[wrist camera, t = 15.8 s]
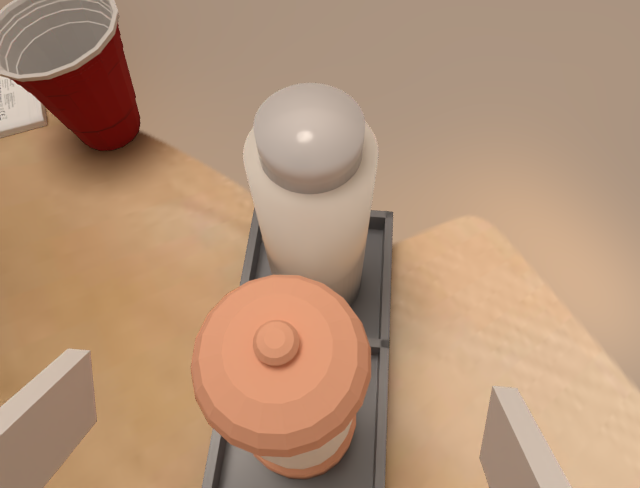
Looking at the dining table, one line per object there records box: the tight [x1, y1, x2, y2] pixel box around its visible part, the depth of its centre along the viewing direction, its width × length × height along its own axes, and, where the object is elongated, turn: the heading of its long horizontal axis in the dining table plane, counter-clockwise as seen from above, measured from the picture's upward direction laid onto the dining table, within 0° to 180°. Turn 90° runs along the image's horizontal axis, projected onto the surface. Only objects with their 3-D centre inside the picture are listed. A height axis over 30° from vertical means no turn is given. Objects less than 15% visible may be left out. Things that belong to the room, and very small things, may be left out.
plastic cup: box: [0, 0, 140, 151], centre depth 42 cm, size 11×11×12 cm
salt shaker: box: [243, 83, 379, 306], centre depth 31 cm, size 7×7×18 cm
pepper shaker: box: [191, 275, 371, 479], centre depth 25 cm, size 7×7×19 cm
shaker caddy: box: [202, 207, 393, 488], centre depth 36 cm, size 11×22×3 cm, turn 174°
